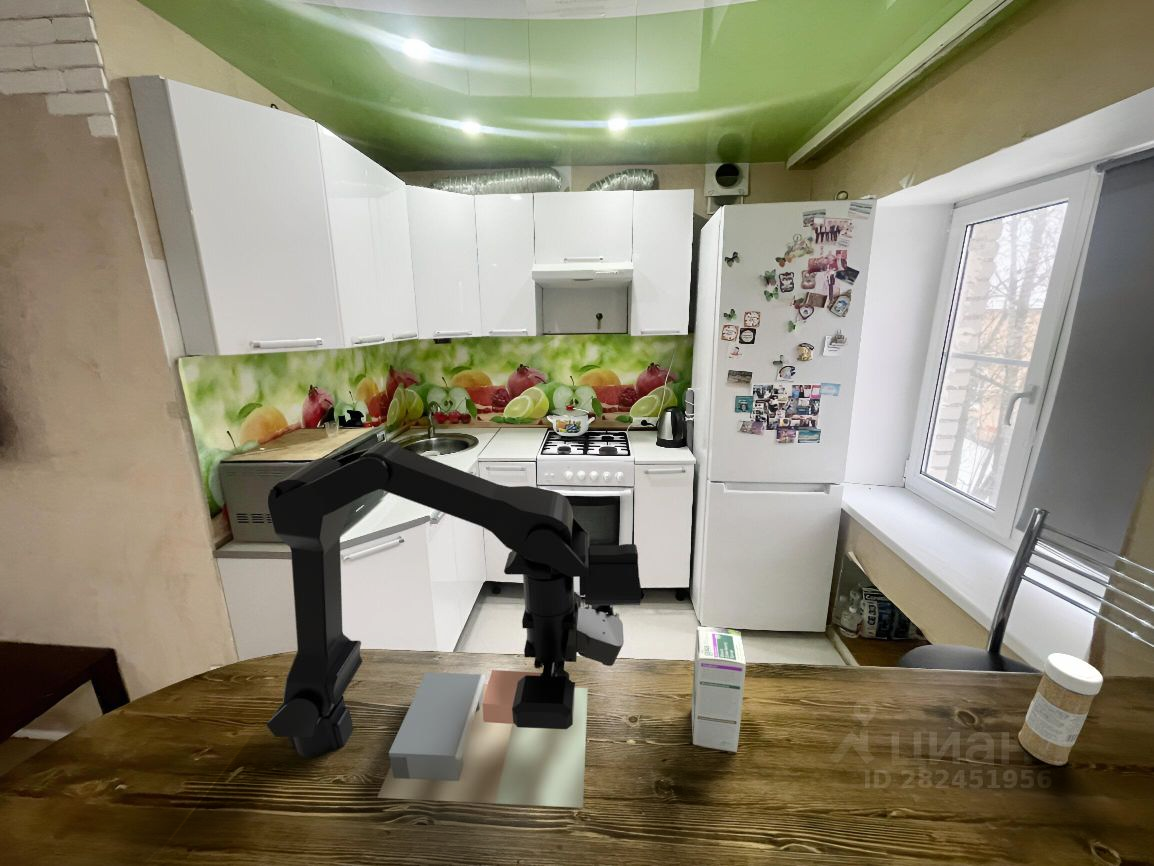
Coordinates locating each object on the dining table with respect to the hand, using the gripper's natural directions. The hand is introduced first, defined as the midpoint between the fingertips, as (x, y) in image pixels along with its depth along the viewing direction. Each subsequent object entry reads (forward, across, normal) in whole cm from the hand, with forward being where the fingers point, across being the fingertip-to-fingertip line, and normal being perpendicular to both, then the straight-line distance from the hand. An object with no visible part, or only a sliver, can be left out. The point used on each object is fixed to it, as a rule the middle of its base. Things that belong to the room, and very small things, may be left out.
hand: (554, 702), depth 57 cm
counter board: (+7, 0, +8) cm, 11 cm away
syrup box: (+7, +3, -21) cm, 22 cm away
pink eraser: (+1, 0, +4) cm, 4 cm away
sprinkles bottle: (+8, +2, -62) cm, 62 cm away
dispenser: (+6, 0, +15) cm, 16 cm away
